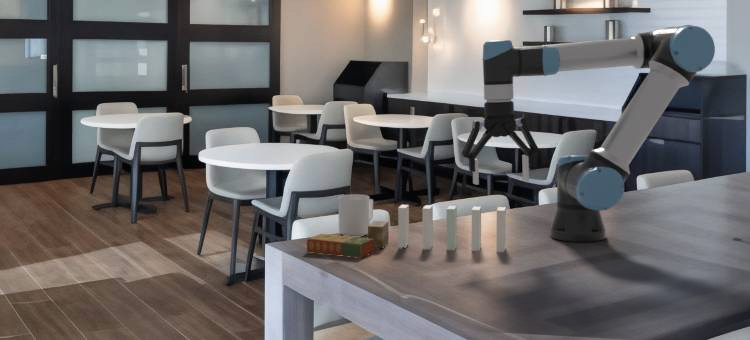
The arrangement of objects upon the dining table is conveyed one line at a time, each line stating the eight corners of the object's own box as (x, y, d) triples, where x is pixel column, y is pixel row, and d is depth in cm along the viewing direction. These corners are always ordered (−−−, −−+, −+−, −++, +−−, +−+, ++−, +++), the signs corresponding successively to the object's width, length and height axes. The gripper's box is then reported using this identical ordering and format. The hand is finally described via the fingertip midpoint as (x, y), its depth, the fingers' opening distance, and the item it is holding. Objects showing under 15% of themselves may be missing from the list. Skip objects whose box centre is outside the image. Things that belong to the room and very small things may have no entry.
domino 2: (432, 245, 234) (432, 205, 233) (430, 249, 229) (429, 208, 228) (425, 245, 235) (425, 205, 233) (422, 249, 230) (422, 208, 228)
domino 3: (456, 246, 233) (456, 206, 231) (454, 250, 228) (454, 209, 227) (449, 246, 233) (449, 205, 232) (446, 250, 228) (446, 209, 227)
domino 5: (505, 248, 230) (505, 207, 229) (504, 252, 225) (504, 210, 224) (497, 247, 231) (498, 207, 229) (496, 251, 226) (496, 210, 224)
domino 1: (409, 244, 236) (408, 204, 234) (405, 248, 231) (405, 208, 229) (401, 244, 236) (401, 204, 235) (398, 248, 231) (398, 207, 230)
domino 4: (480, 247, 232) (481, 206, 230) (479, 251, 227) (479, 209, 225) (473, 246, 232) (473, 206, 231) (471, 251, 227) (471, 209, 226)
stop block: (388, 242, 238) (388, 221, 238) (382, 248, 231) (382, 226, 230) (374, 242, 239) (374, 220, 238) (368, 248, 231) (367, 226, 231)
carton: (322, 248, 234) (322, 232, 234) (375, 253, 227) (375, 237, 227) (306, 254, 227) (306, 238, 226) (361, 260, 220) (361, 243, 219)
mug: (354, 239, 243) (354, 200, 241) (332, 235, 249) (331, 197, 247) (383, 232, 252) (382, 195, 250) (361, 228, 258) (360, 192, 256)
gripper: (539, 97, 229) (541, 176, 232) (448, 102, 225) (451, 183, 227) (550, 98, 222) (551, 180, 224) (456, 104, 217) (458, 187, 220)
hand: (501, 182), depth 226 cm, fingers open, 13 cm apart
